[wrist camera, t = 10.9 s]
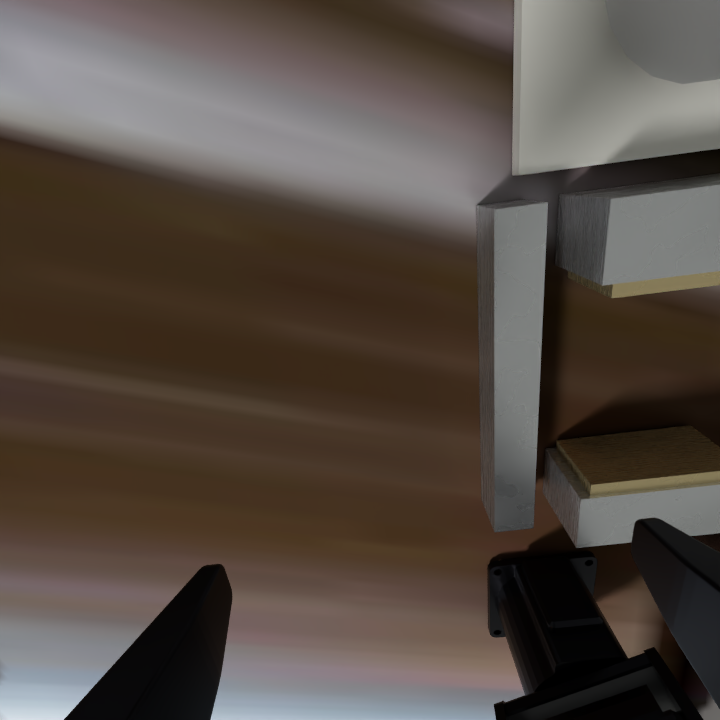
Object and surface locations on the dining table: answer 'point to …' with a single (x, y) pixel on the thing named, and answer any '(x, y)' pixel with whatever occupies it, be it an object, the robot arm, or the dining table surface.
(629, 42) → the can
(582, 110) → the tray
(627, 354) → the dining table surface
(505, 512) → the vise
